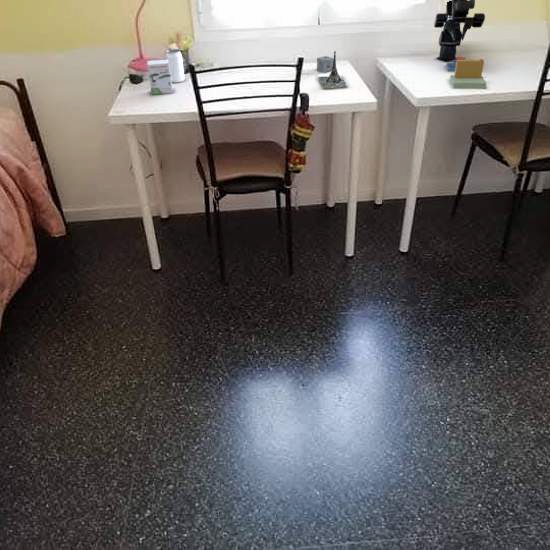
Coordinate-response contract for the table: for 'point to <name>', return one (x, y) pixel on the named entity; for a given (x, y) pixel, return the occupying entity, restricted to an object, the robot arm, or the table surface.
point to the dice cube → (325, 63)
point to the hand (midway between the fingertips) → (458, 40)
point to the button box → (451, 66)
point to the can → (175, 65)
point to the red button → (460, 58)
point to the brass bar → (469, 68)
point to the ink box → (159, 76)
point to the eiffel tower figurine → (332, 78)
